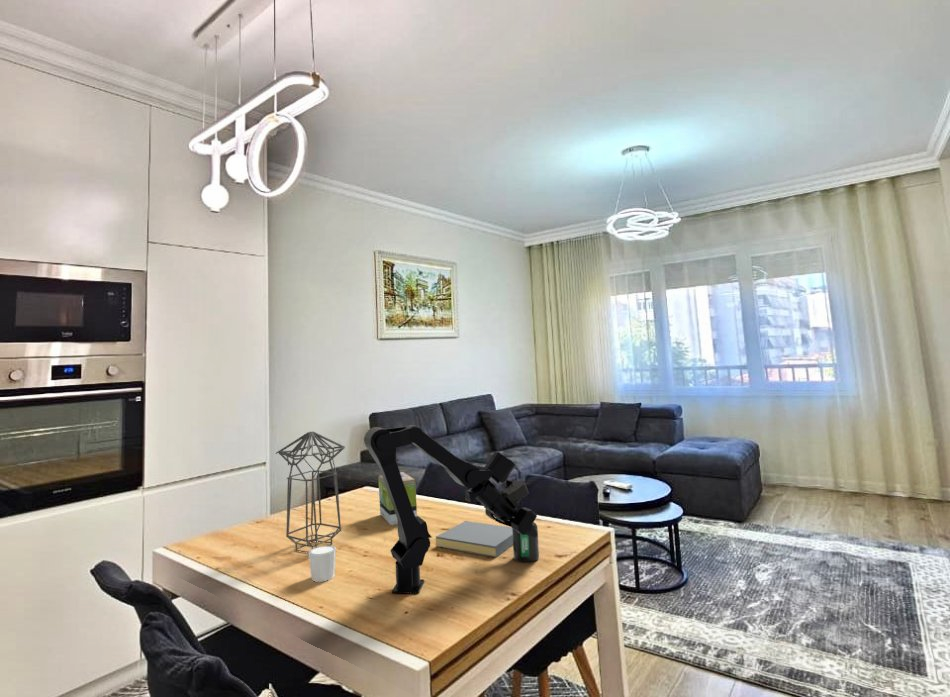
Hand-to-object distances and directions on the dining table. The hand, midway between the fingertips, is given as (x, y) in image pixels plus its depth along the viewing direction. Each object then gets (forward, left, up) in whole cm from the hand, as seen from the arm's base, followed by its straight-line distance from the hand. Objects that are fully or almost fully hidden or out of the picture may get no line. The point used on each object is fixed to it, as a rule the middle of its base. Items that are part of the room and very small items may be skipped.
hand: (529, 532), depth 133 cm
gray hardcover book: (+11, +15, -7) cm, 20 cm away
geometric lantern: (+8, +65, -7) cm, 66 cm away
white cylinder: (-13, +53, -7) cm, 55 cm away
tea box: (+37, +47, -7) cm, 61 cm away
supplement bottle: (-1, +1, -7) cm, 7 cm away
